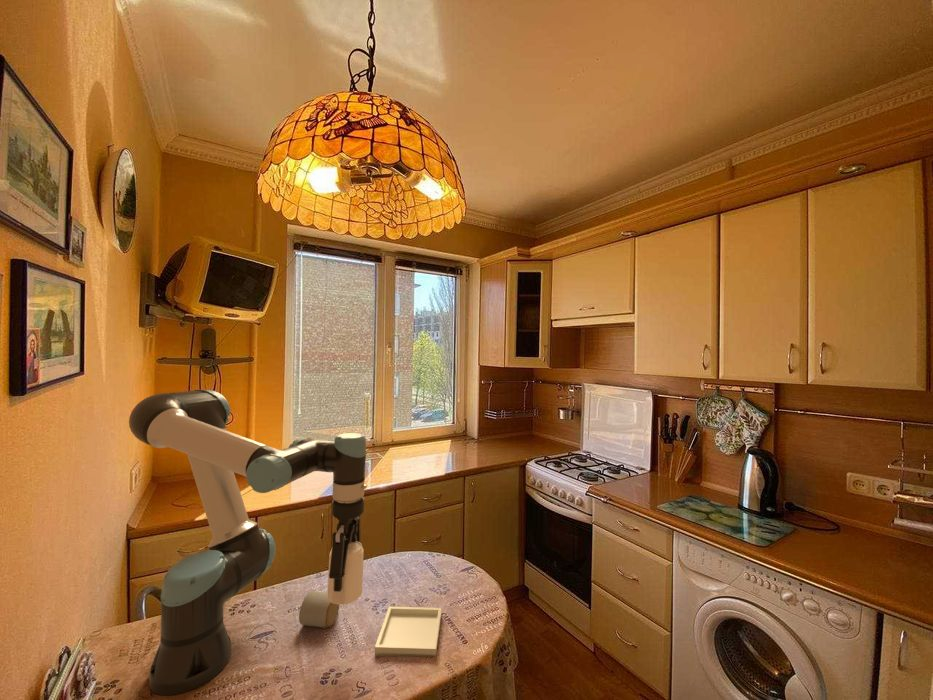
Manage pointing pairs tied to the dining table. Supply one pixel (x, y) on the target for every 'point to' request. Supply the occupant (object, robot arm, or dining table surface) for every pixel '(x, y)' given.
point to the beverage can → (350, 573)
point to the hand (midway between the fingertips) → (345, 590)
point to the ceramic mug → (318, 610)
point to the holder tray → (409, 632)
